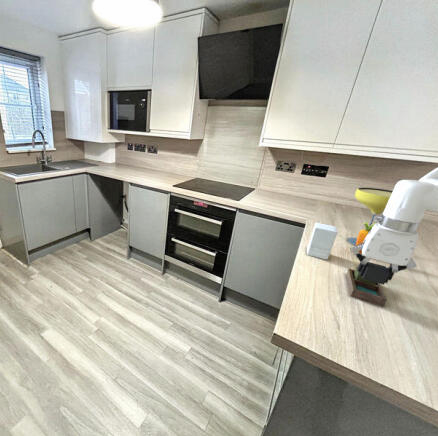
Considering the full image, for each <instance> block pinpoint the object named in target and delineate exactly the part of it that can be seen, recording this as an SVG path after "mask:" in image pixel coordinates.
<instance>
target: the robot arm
mask: <svg viewBox="0 0 438 436" xmlns="http://www.w3.org/2000/svg"><path fill="white" fill-rule="evenodd" d="M392 191H393V192H392V194H391V197H390V199H389V201H388V203H387V206H386V208H385V210H384V212H382V213H381V214H380V215H375V217H374V219H373V221H375V223H376V224H375V223H374V224H375V225H374V224H373V225H374V226H373V227H372V229H371V230H370V232H369V233H368V235H367V236H366V238H365V240H364V242H363V243H361V244H359V245H357V246H356V245H354V246H352V247H350V252H351V253H352V254H353V255H354V256H356V258H357V259H358V261H359V264H358V266H357V267H358V268H357V271H358V272H359V275H360V276H363V274H364V272H365V270H366V268H367V262H370V260H375V261H379V262H383V263H387V264H389V266H388V267H387V266H386V268H387V270H388V272H389V276H388V278H387V280H386V282H385V284H387V283H388V282H389V281H391V280H392V278H393V277H394V275H395V274H396V273H398V272H401V271H404V270H407V269H412V268H417V267H418V265H417V262H415V259H414V258H413V255H414V252H415V249H416V246H417V244H418V239H419V233H418V232H417V229H418V227H419V225H420V223H421V222H422V220H423V218H424V216H425V213H426V212H427V211H432V212H437V213H438V167H436V168H434V169H433V170H431V171H430V172H427V174H425V175H424V176H422V177H421V178H420V179H418V180H416V179H402V180H401V179H400V180H399V181H397V182H396V184H395V185H394V188H393V190H392ZM359 250H362V254H361V253H359Z"/></svg>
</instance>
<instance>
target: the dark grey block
mask: <svg viewBox="0 0 438 436" xmlns="http://www.w3.org/2000/svg"><path fill="white" fill-rule="evenodd" d="M388 276H389V272H388V270H387V266H386V265H382V264H378V263H375V262H370V261H368V262H367V268H366V270H365V272H364V274H363V276H362V278H363V279H366V280H369V281H373V282H376V283H379V284H380V285H383V286H385V284H386V283H385V282H386V280H387V278H388Z"/></svg>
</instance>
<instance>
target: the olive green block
mask: <svg viewBox="0 0 438 436" xmlns="http://www.w3.org/2000/svg"><path fill="white" fill-rule="evenodd" d="M357 268H358V266H356V267H355V269H354V270H355V272H354V274H353V278H354V279H357V280H360V281H364V282H367V283H371V284H374V285H375V284H376V282H373V281H369V280H366V279H363V278H362V276H360V275H359V272H358V271H357Z"/></svg>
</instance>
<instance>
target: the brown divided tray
mask: <svg viewBox="0 0 438 436" xmlns="http://www.w3.org/2000/svg"><path fill="white" fill-rule="evenodd" d="M354 272H355V269H352V268H347V272H346V280H347V286H348V291H349V296H350V297H352V298H355V299H358V300H361V301H364V302H367V303H371V304H374V305H377V306H380V307H384V305H385V304H386V302H387V297H386V295H385V293H384V292H385V291H384V290H383V288H382V284H379V283H376V284H375V285H374V284H371V283H367V282H364V281H360V280H357V279H354V278H353V274H354Z"/></svg>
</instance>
